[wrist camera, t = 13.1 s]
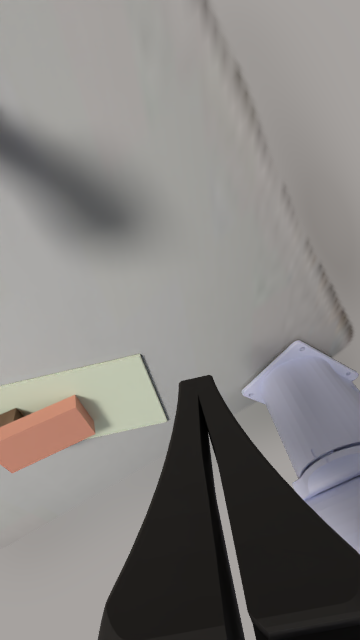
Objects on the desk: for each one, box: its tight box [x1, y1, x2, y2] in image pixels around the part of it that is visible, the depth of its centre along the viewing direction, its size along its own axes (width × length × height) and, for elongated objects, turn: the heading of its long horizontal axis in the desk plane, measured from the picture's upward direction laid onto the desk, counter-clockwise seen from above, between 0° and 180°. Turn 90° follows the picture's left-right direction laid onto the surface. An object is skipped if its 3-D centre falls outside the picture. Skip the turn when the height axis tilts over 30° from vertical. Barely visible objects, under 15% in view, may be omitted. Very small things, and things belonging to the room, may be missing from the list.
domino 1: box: [0, 395, 95, 473], centre depth 24 cm, size 2×4×8 cm
